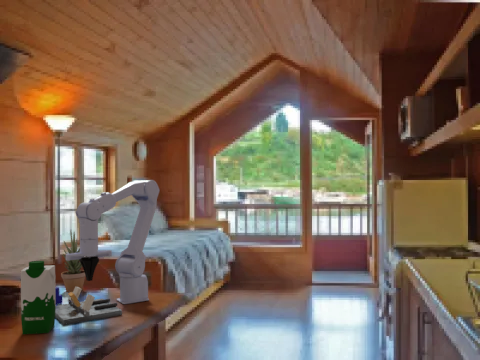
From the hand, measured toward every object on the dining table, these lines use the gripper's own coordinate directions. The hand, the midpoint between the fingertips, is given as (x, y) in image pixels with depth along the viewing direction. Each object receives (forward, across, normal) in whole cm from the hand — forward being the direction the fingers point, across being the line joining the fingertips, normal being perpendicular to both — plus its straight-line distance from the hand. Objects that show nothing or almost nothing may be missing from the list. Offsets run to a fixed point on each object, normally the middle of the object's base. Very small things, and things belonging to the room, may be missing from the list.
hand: (89, 280), depth 153 cm
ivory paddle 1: (+8, +4, -7) cm, 11 cm away
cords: (+9, -4, 0) cm, 10 cm away
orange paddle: (+8, +4, 0) cm, 9 cm away
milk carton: (+11, +18, +10) cm, 23 cm away
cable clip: (+11, +9, -22) cm, 26 cm away
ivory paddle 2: (+8, +4, +7) cm, 11 cm away
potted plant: (+11, -4, -35) cm, 37 cm away
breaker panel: (+10, +2, 0) cm, 11 cm away
